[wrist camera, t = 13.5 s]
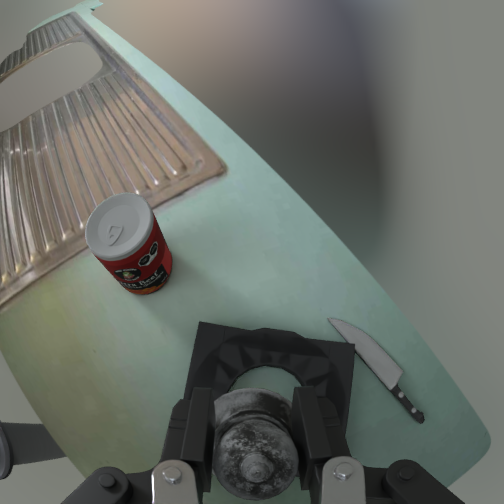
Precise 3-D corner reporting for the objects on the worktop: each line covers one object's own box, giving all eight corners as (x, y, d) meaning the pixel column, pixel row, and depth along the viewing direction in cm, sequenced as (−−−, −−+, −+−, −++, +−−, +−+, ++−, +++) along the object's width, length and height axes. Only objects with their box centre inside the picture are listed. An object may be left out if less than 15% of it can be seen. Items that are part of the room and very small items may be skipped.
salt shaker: (206, 474, 16) (158, 551, 5) (203, 390, 19) (149, 371, 8) (298, 471, 16) (361, 541, 5) (294, 387, 19) (357, 365, 8)
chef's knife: (342, 304, 38) (325, 318, 37) (345, 300, 37) (328, 315, 36) (432, 408, 31) (418, 425, 30) (436, 407, 30) (423, 425, 29)
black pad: (175, 458, 28) (171, 461, 27) (202, 321, 36) (200, 316, 34) (332, 478, 28) (337, 482, 26) (350, 342, 35) (355, 339, 34)
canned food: (117, 298, 37) (79, 261, 27) (121, 244, 41) (90, 196, 31) (174, 294, 38) (150, 254, 28) (173, 238, 41) (154, 187, 32)
